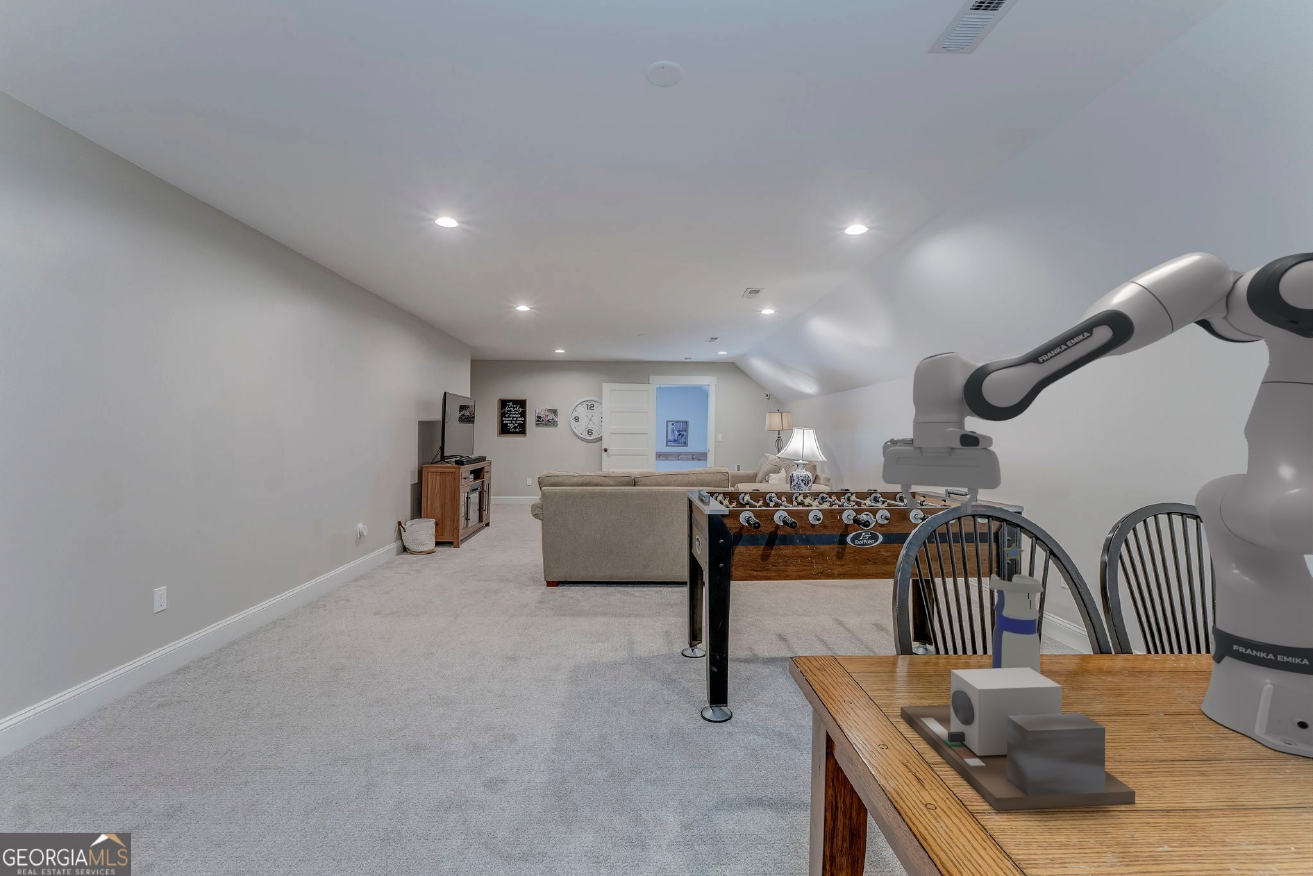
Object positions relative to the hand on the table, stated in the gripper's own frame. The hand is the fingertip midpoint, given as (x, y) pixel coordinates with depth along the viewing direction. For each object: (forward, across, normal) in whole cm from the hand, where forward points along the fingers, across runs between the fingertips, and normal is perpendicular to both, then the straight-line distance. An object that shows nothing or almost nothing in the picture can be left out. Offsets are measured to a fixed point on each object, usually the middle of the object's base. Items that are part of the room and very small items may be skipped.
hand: (938, 510), depth 104 cm
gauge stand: (+31, +14, -24) cm, 42 cm away
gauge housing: (+29, +14, -26) cm, 41 cm away
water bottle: (+31, +12, +3) cm, 33 cm away
